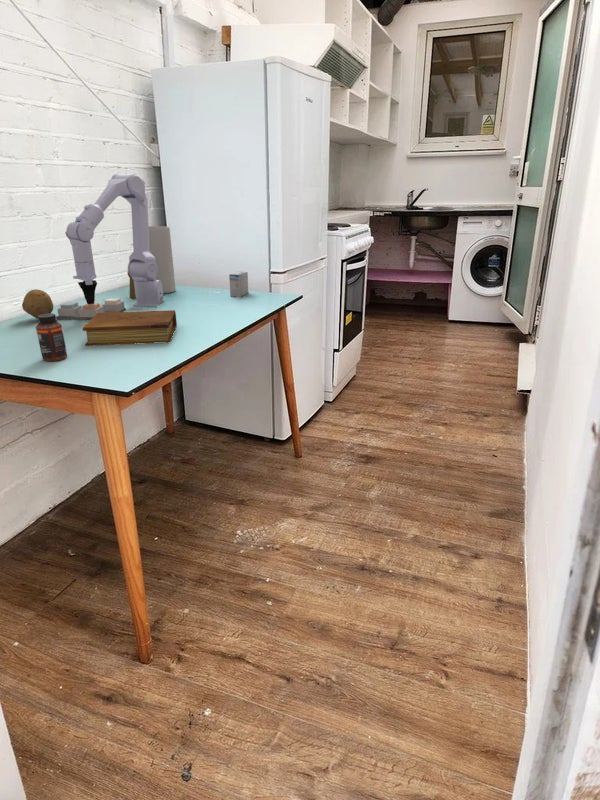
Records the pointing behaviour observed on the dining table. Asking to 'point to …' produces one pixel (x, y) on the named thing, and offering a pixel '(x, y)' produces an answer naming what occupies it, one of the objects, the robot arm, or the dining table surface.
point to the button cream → (112, 301)
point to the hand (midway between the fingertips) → (90, 303)
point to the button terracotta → (91, 306)
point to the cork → (132, 288)
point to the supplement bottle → (51, 338)
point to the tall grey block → (162, 256)
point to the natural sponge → (37, 303)
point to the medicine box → (238, 284)
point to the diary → (130, 327)
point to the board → (89, 311)
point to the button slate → (69, 305)
